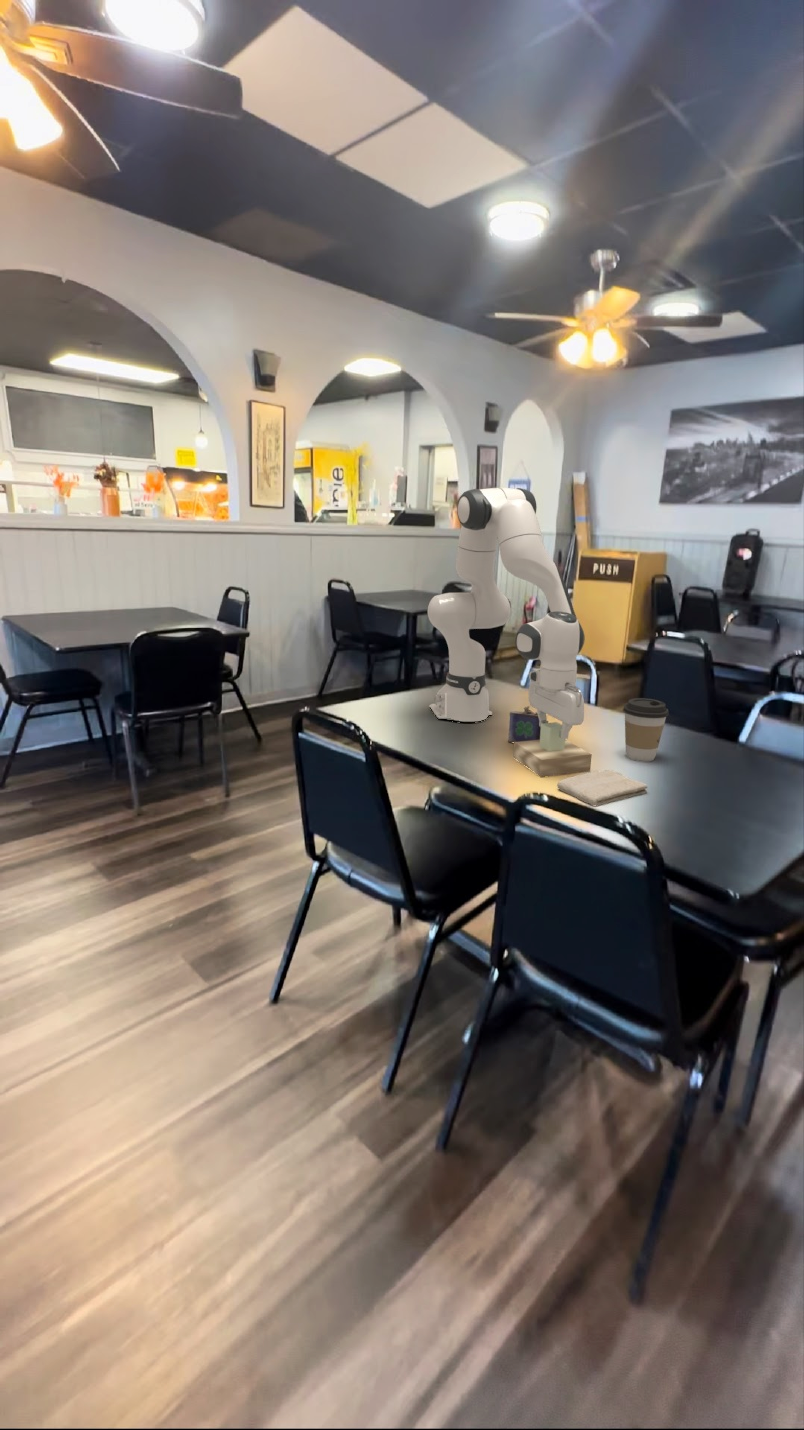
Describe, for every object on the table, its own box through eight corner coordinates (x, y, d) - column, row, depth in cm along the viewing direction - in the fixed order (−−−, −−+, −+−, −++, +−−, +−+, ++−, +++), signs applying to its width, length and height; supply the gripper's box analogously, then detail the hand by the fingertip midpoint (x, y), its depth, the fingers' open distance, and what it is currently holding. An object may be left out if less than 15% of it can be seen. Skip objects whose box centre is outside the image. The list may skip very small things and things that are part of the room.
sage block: (539, 746, 171) (541, 723, 169) (554, 744, 172) (556, 722, 170) (548, 751, 167) (550, 728, 165) (564, 749, 168) (566, 727, 166)
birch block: (513, 760, 175) (514, 742, 174) (559, 755, 179) (561, 737, 178) (540, 779, 162) (541, 759, 161) (589, 773, 167) (591, 754, 165)
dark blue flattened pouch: (506, 742, 187) (509, 705, 184) (509, 739, 190) (512, 703, 187) (539, 747, 184) (542, 710, 181) (542, 744, 186) (545, 707, 183)
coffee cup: (666, 766, 171) (673, 709, 167) (620, 762, 173) (626, 706, 169) (659, 752, 181) (666, 698, 177) (615, 748, 184) (621, 695, 179)
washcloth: (649, 794, 154) (651, 781, 153) (594, 810, 145) (595, 796, 144) (610, 777, 164) (611, 765, 163) (555, 791, 155) (556, 778, 154)
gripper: (593, 687, 156) (588, 744, 160) (547, 669, 175) (543, 720, 178) (570, 689, 154) (565, 746, 158) (525, 671, 172) (522, 722, 176)
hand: (553, 732), depth 168 cm, fingers open, 8 cm apart
